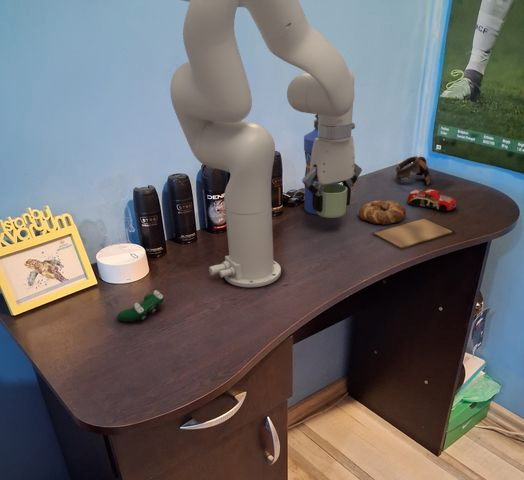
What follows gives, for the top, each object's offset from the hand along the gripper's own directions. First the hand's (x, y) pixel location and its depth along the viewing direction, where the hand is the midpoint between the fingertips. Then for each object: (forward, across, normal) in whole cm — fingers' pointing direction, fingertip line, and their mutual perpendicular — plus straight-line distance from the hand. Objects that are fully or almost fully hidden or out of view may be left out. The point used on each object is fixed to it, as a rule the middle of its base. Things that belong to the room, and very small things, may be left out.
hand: (331, 206), depth 133 cm
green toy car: (+8, +53, +13) cm, 55 cm away
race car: (+6, -32, +2) cm, 32 cm away
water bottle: (+6, -7, -14) cm, 17 cm away
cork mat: (+6, -16, +13) cm, 21 cm away
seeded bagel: (+6, -16, +1) cm, 17 cm away
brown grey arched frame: (+5, -42, -16) cm, 45 cm away
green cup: (+2, 0, 0) cm, 2 cm away
